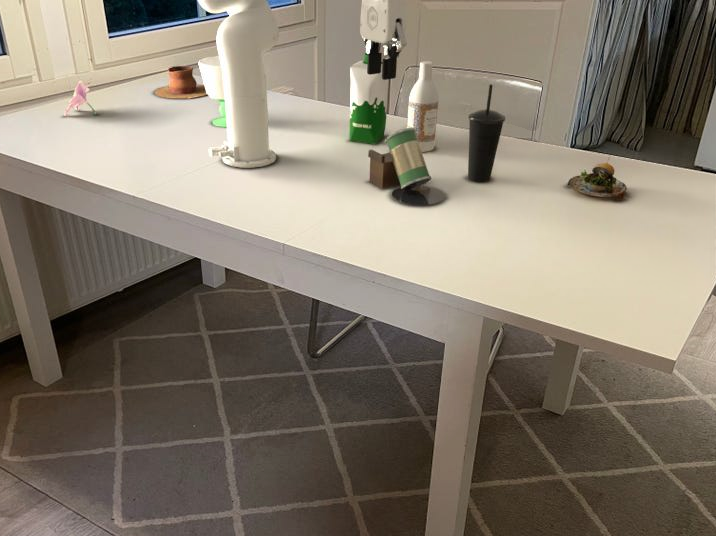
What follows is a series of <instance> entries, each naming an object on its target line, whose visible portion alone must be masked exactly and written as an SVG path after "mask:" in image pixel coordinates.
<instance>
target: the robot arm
mask: <svg viewBox="0 0 716 536" xmlns="http://www.w3.org/2000/svg"><path fill="white" fill-rule="evenodd" d="M197 2H198V4H199V5H200V6H201V8H202V9H203V10H205V11H206V12H208V13H210V14H221V13H225V12H226V13H227V14H228V15H229V16H227V17H225V19H223V21H222V22H221V23H220V25H219V27H218V29H217V32H216V33H217V34H216V48H217V53H218V56H219V57H220V61H221V66H222V73H223V83H224V94H225V107H226V121H227V127H226V133H227V134H226V135H227V140H223V144H221V146H218V147H217V146H216V147H209V148H208V154H209V157H210V158H213V157H217V156H218V157H219V158H220V159H222V161H223V163H224V164H226V165H228V166H230V167H234V168H243V169H251V168H253V169H254V168H260V167H265V166H268V165H271V164H273V163H274V162H275V161H276V160H277V154H276V152H275V151H274V150H272V149H270V139H269V138H270V137H269V115H268V112H269V111H268V91H267V78H266V71H265V67H264V63H263V59H262V55H263V54H265V53H267V52H269V51H271V50H272V49H273V48H274V47H275V46H276V44H277V42H278V40H279V36H280V27H279V22H278V20H277V17H276V15H275V13H274V12H273V10H272V8H271V6H270V4H269V2H268V1H267V0H197ZM406 25H407V0H361V6H360V19H359V35H360V36H361V38H362V39H363V41H364V44H365V48H366V49H365V53H367V54H368V61H367V74H369V75H371V74H378V73H381V62H382V79H383V80H387V79H388V80H393V79H396V77H397V68H398V67H397V66H398V59H399V57H400V54H401V52H402V50H403V49H404V48H405V47H407V40H406V35H405V34H406V27H407V26H406ZM382 44H383V53H382V52H381V47H382ZM390 46H391V48H390ZM383 54H384V58H383Z"/></svg>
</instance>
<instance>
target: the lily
mask: <svg viewBox="0 0 716 536" xmlns="http://www.w3.org/2000/svg"><path fill="white" fill-rule="evenodd" d="M92 80H93V78H90V79H89V80H88V81H87V82H86V83H85V84H83V82H82V79H79V81H78V82H77V84H76V86H75V88H74V93H73V94H72V98H70V100H69V101H68V106H67V108H66V109H65V112H64V115H63V117H66V115H67V114H68V113H69V112H70V111H71V110H72V109H73V108H75V110H76V111H77V112H78V111H79V110H80V109H79V108H80V106H81V105H84V104H87V105H88V106H89V107H90V108H91V110H92V111H93V112H94V113H95V115H96V116H97V115H98V113H97V111H95V109H94V108H93V106H92V105H91V104H90V103H89V102H88V100H87V93H89V91H90V88H88V87H89V85H90V83H91V81H92Z"/></svg>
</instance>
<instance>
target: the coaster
mask: <svg viewBox="0 0 716 536" xmlns="http://www.w3.org/2000/svg"><path fill="white" fill-rule="evenodd" d="M391 198H392V199H393V200H394V201H395V202H396V203H398V204H402V205H406V206H409V207H410V206H411V207H430V206H434V205H438V204H440V203H442V202H443V201H444V200H445V194H444V193H443V192H442V191H441V190H439V189H437V188H434V187H432V186H431V187H430V186H427V185H426V186H425V185H422V186H419V187H417V188H414V189H410V190H406V191H402V190H401V186H400V187H398V188H396V189H394V190H392V191H391Z"/></svg>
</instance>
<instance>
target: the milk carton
mask: <svg viewBox="0 0 716 536" xmlns="http://www.w3.org/2000/svg"><path fill="white" fill-rule="evenodd" d="M367 61H368V54H367V52H365V53H364V59H363V60H359V61H357V62H355V63H353V64H352V65H351V66H350V68H349V71H350V94H349V95H350V97H349V98H350V99H349V101H350V103H349V142H354V143H355V142H356V143H362V144H363V143H364V144H372V145H377V143H379V142H380V141H381V140H382V139H383V138H384V137H385V134H386V126H387V113H388V95H389V79H387V80H383V79H382V62H383V61H381V73H378V74H371V75H369V74H367Z"/></svg>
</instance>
